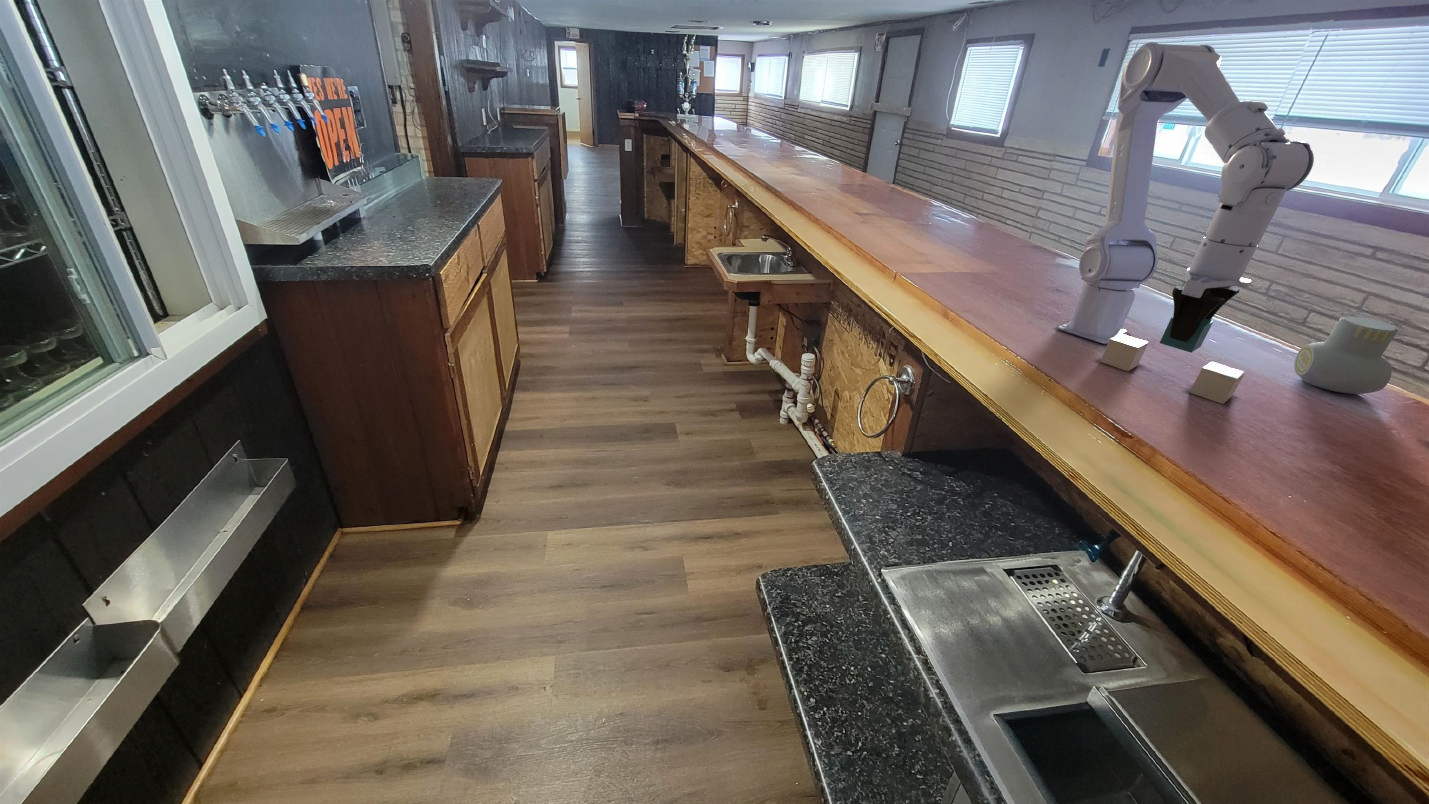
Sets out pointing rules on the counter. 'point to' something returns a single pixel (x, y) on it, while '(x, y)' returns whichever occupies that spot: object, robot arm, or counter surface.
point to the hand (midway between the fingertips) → (1183, 336)
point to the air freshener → (1348, 357)
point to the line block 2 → (1217, 382)
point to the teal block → (1192, 342)
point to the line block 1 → (1124, 352)
